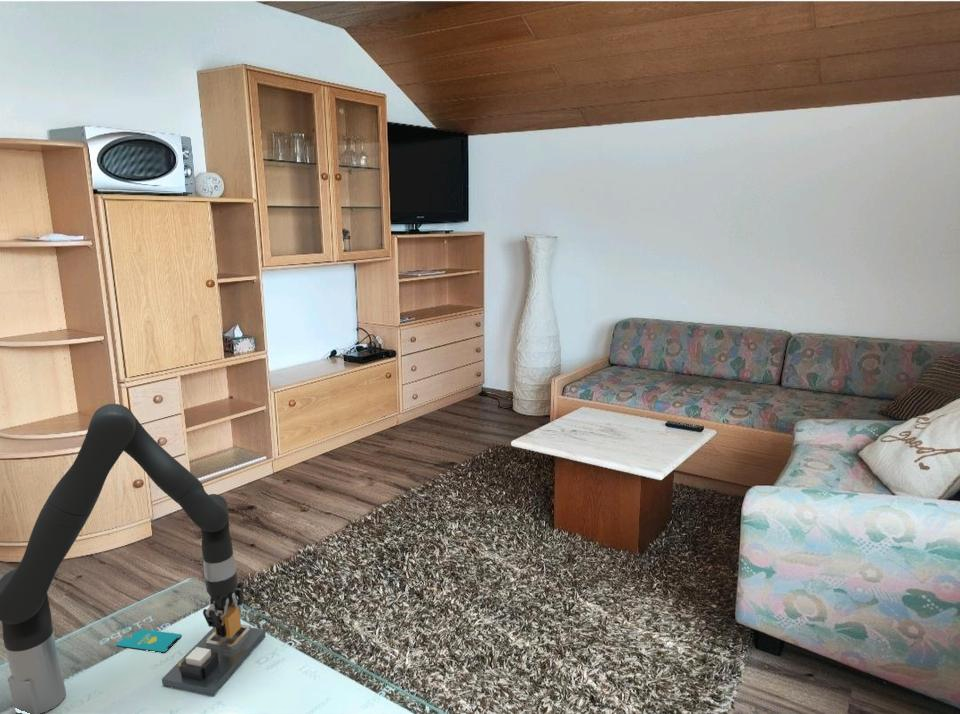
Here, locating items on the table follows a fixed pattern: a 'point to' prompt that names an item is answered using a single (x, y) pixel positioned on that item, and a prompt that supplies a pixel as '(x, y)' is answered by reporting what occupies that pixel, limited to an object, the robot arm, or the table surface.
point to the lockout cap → (231, 621)
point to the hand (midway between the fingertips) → (228, 629)
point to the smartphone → (150, 641)
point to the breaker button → (198, 656)
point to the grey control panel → (214, 661)
